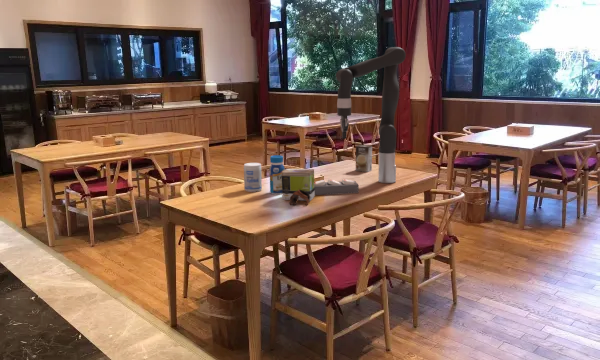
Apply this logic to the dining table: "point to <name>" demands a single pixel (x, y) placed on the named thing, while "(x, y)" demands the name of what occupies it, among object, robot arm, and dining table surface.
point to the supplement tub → (252, 177)
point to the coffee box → (363, 158)
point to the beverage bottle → (276, 174)
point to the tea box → (297, 182)
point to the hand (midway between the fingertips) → (344, 138)
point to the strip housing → (336, 189)
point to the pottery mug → (302, 194)
